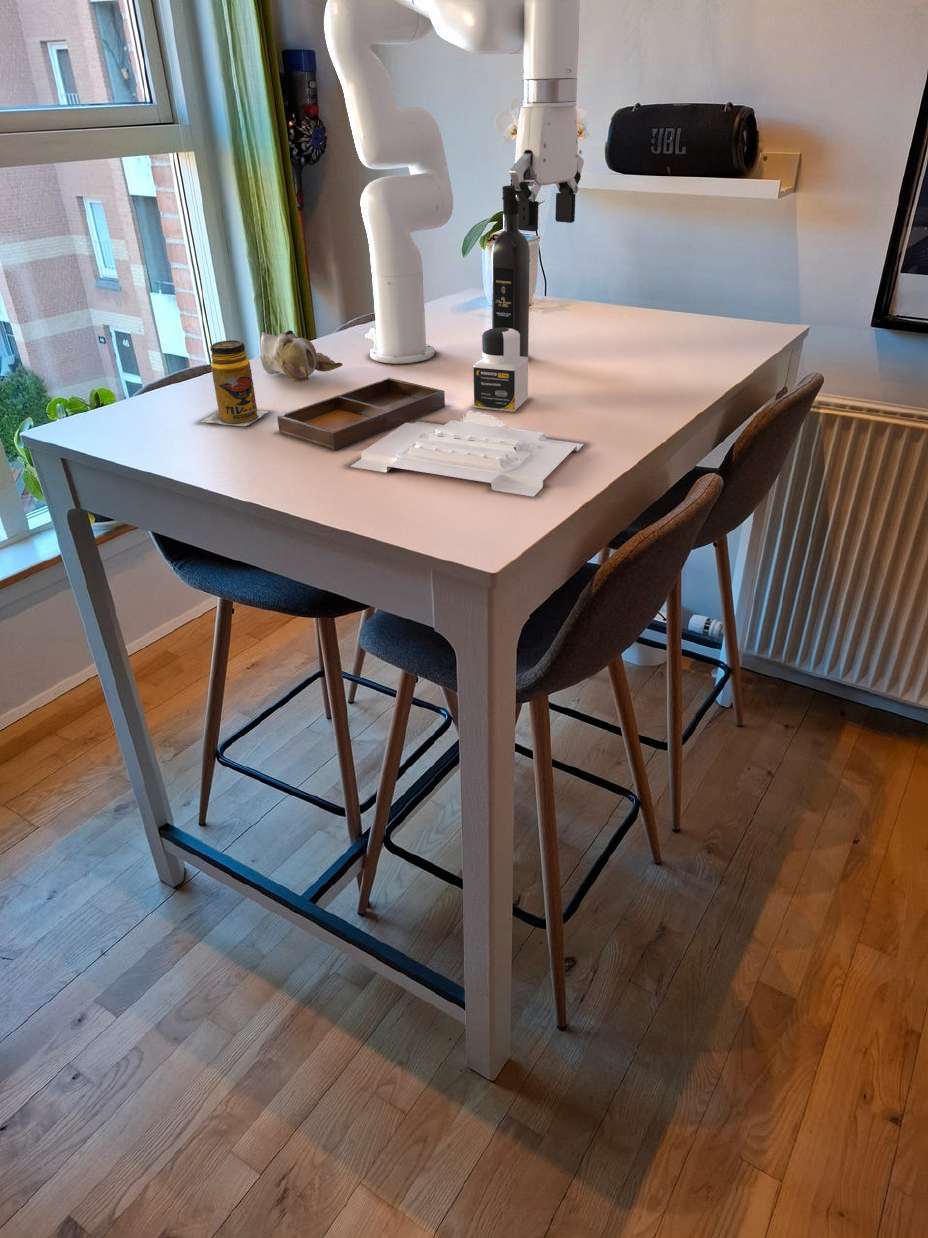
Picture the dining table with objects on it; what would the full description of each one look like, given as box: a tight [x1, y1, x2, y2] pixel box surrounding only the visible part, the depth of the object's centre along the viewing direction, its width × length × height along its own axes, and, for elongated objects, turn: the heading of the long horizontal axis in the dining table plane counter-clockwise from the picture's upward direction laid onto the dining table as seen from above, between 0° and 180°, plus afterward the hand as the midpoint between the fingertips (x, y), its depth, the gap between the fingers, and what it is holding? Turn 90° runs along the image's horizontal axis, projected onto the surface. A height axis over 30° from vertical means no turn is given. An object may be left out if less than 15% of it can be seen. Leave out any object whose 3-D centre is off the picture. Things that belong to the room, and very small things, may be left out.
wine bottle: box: [491, 184, 531, 358], centre depth 162 cm, size 6×6×30 cm
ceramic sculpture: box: [259, 330, 343, 383], centre depth 161 cm, size 11×9×15 cm
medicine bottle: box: [472, 327, 529, 413], centre depth 144 cm, size 7×7×12 cm
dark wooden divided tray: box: [276, 377, 446, 451], centre depth 141 cm, size 13×25×3 cm, turn 140°
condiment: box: [200, 339, 269, 427], centre depth 141 cm, size 7×8×12 cm
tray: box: [349, 409, 585, 497], centre depth 127 cm, size 20×28×4 cm
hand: (546, 225), depth 134 cm, fingers open, 9 cm apart
